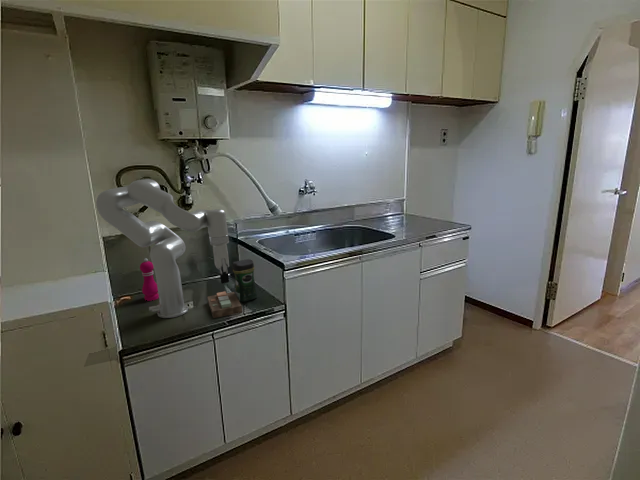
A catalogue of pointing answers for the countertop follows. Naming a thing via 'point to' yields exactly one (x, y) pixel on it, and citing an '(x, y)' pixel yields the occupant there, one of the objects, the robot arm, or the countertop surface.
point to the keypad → (219, 312)
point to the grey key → (223, 298)
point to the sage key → (225, 304)
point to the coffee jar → (244, 280)
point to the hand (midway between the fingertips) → (225, 282)
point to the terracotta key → (221, 294)
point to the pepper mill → (149, 281)
